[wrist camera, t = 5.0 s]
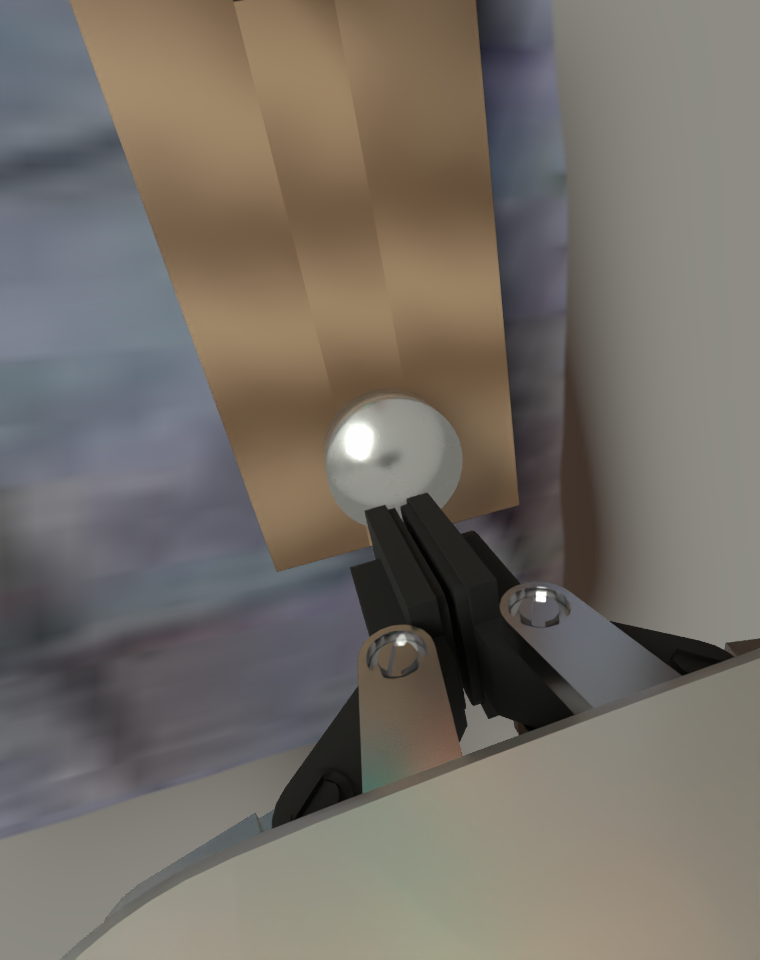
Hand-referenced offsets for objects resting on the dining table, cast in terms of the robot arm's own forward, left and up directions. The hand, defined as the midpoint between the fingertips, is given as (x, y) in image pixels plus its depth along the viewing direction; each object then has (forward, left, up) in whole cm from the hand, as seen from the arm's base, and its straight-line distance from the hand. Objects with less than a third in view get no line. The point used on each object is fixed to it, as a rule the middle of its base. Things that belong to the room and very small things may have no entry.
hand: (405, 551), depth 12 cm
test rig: (+7, +4, -14) cm, 16 cm away
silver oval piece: (+1, -1, -12) cm, 12 cm away
